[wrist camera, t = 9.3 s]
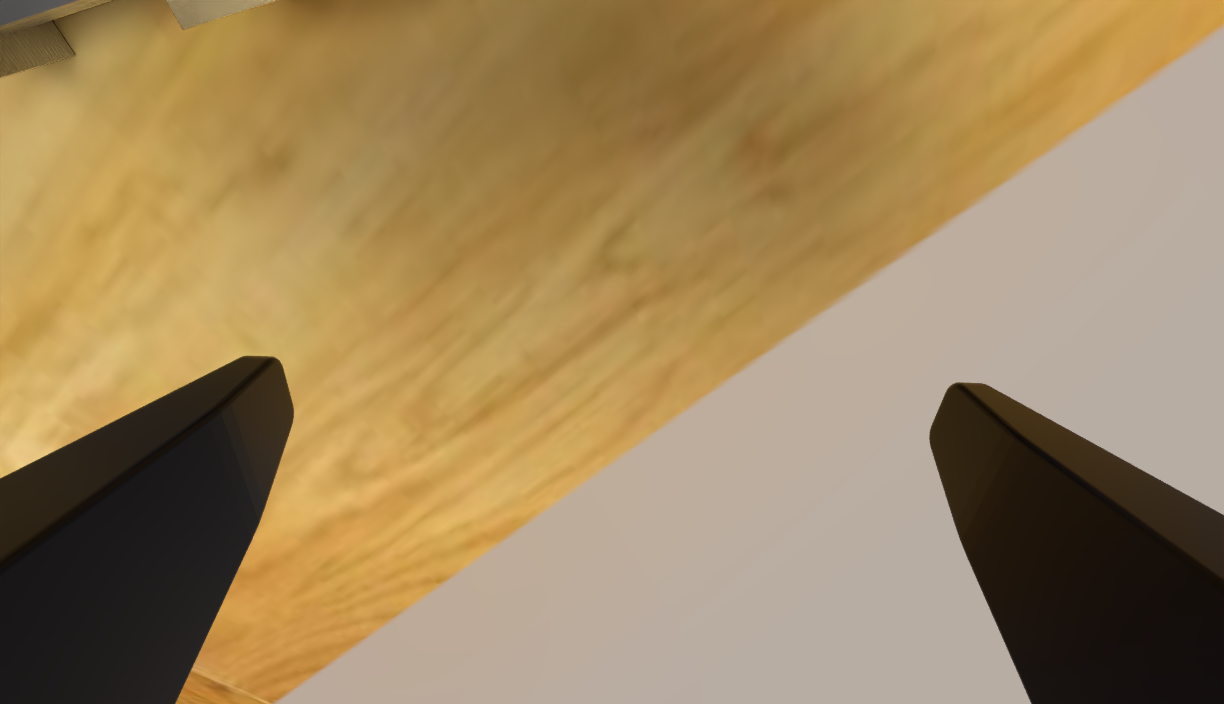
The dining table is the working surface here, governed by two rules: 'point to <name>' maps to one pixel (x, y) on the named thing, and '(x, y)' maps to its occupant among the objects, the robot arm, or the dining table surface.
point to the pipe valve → (27, 3)
